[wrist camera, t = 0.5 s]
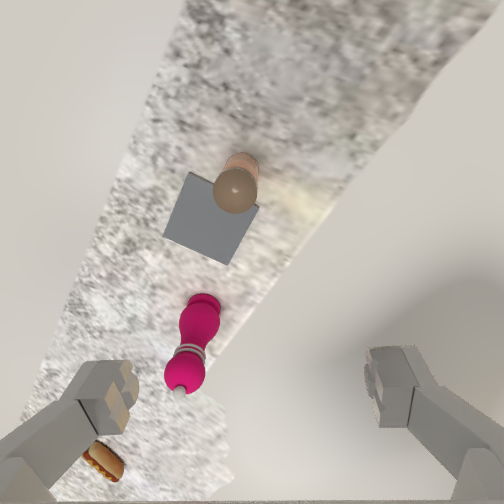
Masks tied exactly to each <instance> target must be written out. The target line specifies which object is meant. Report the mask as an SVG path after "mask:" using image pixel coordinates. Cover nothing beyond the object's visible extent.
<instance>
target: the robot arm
mask: <svg viewBox="0 0 504 504" xmlns="http://www.w3.org/2000/svg"><path fill="white" fill-rule="evenodd" d="M365 357H366V360H367V364H366V365H365V367H364V369H365V370H364V374H365V383H366V388H367V391H368V395H369V396H370V397H371V398H372V399H373V411H374V414H375V416H376V420H377V423H378V426H379V428H408V430H409V431H410V432H411V433H412V434H413V435H414V436H415V437H416V438H417V439H418V440H419V441H420V442H421V444H422V445H423V446H425V448H427V450H428V451H429V452H430V453H431V454H432V455H433V456H434V457H435V458H436V459H437V460H438V461H439V462H440V463H441V464H442V465H443V466H444V467H445V468H446V469H447V470H448V471H449V472H450V473H451V474H452V476H454V478H455V479H456V480H457V482H456V485H455V488H454V491H453V494H452V497H451V500H360V501H359V500H355V501H354V500H341V501H335V500H333V501H109V502H57V501H56V499H55V497H54V496H53V495H52V494H51V492H50V491H49V489H50V488H51V487H52V486H53V485H54V483H55V482H56V481H57V480H58V479H59V478H60V477H61V476H62V475H63V474H64V473H65V472H66V471H67V470H68V469H69V468H70V467H71V466H72V464H73V463H74V462H75V461H76V460H77V459H78V458H79V457H80V456H81V455H82V454H83V453H84V452H85V451H86V450H87V449H88V448H89V446H90V445H91V444H92V443H93V442H94V441H95V440H96V439H97V438H98V436H102V435H120V434H123V432H124V429H125V427H126V425H127V422H128V420H129V417H130V414H129V411H128V410H129V409H130V408H131V407H132V406H133V405H134V404H135V403H136V400H137V398H138V393H139V381H138V378H137V376H136V375H134V374H133V373H132V372H131V370H132V368H133V366H132V364H131V362H130V360H100V361H86V362H85V363H83V364H82V366H81V367H80V369H79V370H78V372H77V373H76V375H75V376H74V378H73V379H72V381H71V382H70V384H69V385H68V387H67V388H66V390H65V391H64V393H63V395H62V396H61V398H60V399H59V401H54V402H52V403H51V404H49V405H48V406H47V407H45V408H44V409H43V410H41V411H40V412H38V413H37V414H36V415H34V416H33V417H32V418H30V419H29V420H27V421H26V422H25V423H23V424H22V425H21V426H19V427H18V428H16V429H15V430H14V431H12V432H11V433H10V434H8V435H7V436H5V437H4V438H3V439H1V440H0V504H504V428H503V427H502V426H501V425H499V424H498V423H496V422H495V421H494V420H492V419H491V418H489V417H488V416H486V415H485V414H484V413H482V412H481V411H479V410H478V409H476V408H475V407H473V406H472V405H471V404H469V403H468V402H466V401H465V400H463V399H462V398H460V397H459V396H458V395H456V394H455V393H453V392H452V391H450V390H449V389H448V388H446V387H445V386H439V385H438V383H437V381H436V380H435V378H434V376H433V374H432V372H431V371H430V369H429V367H428V365H427V363H426V362H425V360H424V358H423V356H422V354H421V353H420V351H419V349H418V347H417V346H416V345H399V346H382V347H367V348H366V352H365Z"/></svg>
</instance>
